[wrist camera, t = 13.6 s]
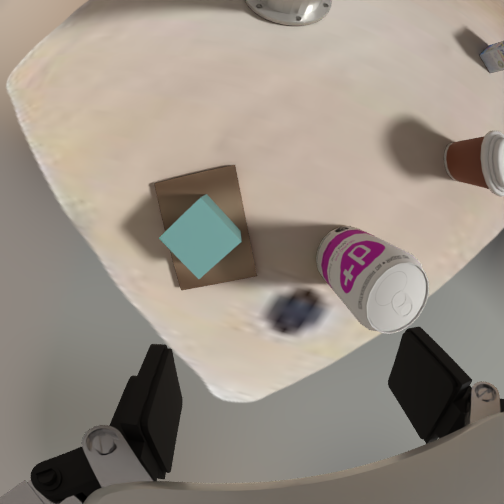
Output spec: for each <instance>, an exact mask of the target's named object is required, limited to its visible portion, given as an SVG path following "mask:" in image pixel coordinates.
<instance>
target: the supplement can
mask: <svg viewBox="0 0 504 504" xmlns="http://www.w3.org/2000/svg"><path fill="white" fill-rule="evenodd" d="M316 262H317V268H318V271H319V272H320V274H321V276H322V277H323V279H324V280H325V281H326V282H327V283H328V285H329V286H330V287H331V288H332V289H333V291H334V292H335V293H336V294H337V295H338V297H339V298H340V299H341V300H342V301H343V303H344V304H345V305H346V306H347V308H348V309H349V310H350V311H351V312H352V314H353V315H354V316H355V317H356V319H357V320H358V321H359V322H360V324H362V325H363V326H365V327H366V328H368V329H369V330H373V331H379V332H381V333H388V334H391V333H395V332H399V331H401V330H403V329H405V328H406V327H408V326H409V325H411V324H412V323H413V322H414V321H415V320H416V319H417V318H418V317H419V315H420V313H421V312H422V310H423V309H424V307H425V305H426V301H427V298H428V295H429V281H428V278H427V275H426V273H425V272H424V270H423V268H422V265H421V263H420V262H419V261H418V259H417V258H416V257H415V256H414V255H413V254H411V253H409V252H407V251H404V250H402V249H400V248H398V247H396V246H394V245H392V244H390V243H388V242H386V241H384V240H382V239H380V238H377V237H375V236H373V235H371V234H369V233H367V232H365V231H362V230H360V229H357V228H355V227H351V226H345V227H339V228H337V229H334V230H332V231H330V232H329V233H328V234H327V235H326V236H325V237H324V238H323V239H322V241H321V243H320V245H319V247H318V250H317V256H316Z"/></svg>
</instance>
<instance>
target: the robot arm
mask: <svg viewBox="0 0 504 504" xmlns="http://www.w3.org/2000/svg"><path fill="white" fill-rule="evenodd" d="M245 1H246V3H247V5H248V6H249V7H250V8H251V9H252V10H253V11H254V12H255V13H257V14H258V15H259V16H261V17H263V18H265V19H267V20H270V21H272V22H275V23H279V24H283V25H291V26H302V25H309V24H312V23H316V22H318V21H320V20H321V19H323V18H324V17H325V16H326V15H327V13H328V12H329V10H330V8H331V3H332V0H245ZM471 382H472V379H471V378H470V377H469V376H468V375H467V374H466V373H465V372H464V371H463V370H462V369H461V368H460V367H459V366H458V364H457V363H455V361H454V360H453V359H452V358H451V357H450V356H449V355H448V354H447V353H446V352H445V351H444V350H443V349H442V348H441V347H440V346H439V345H438V344H437V343H436V342H435V341H434V340H433V339H432V338H431V337H430V336H429V335H428V334H427V333H426V332H425V331H424V330H423V329H422V328H420V327H414V328H409V329H407V330H406V331H405V333H404V334H403V335H402V339H401V342H400V346H399V349H398V352H397V355H396V359H395V362H394V365H393V368H392V371H391V374H390V377H389V380H388V385H389V388H390V389H391V391H392V392H393V394H394V396H395V397H396V399H397V401H398V402H399V404H400V405H401V407H402V409H403V410H404V412H405V414H406V415H407V417H408V418H409V420H410V422H411V423H412V425H413V427H414V428H415V430H416V432H417V433H418V435H419V437H420V438H421V439H424V441H425V442H426V445H423V446H421V447H418V448H415V449H413V450H410V451H408V452H405V453H402V454H399V455H396V456H393V457H390V458H387V459H384V460H380V461H377V462H374V463H370V464H367V465H363V466H359V467H355V468H351V469H347V470H343V471H338V472H333V473H328V474H323V475H317V476H311V477H305V478H297V479H290V480H281V481H270V482H254V483H191V482H169V481H157V478H158V479H165V474H166V472H167V473H169V472H171V467H172V461H173V455H174V449H175V443H176V437H177V432H178V426H179V420H180V414H181V410H182V395H181V391H180V386H179V382H178V377H177V372H176V368H175V363H174V358H173V352H172V349H167V346H166V345H161V344H151V345H150V348H149V350H148V352H147V354H146V357H145V359H144V361H143V364H142V366H141V369H140V371H139V373H138V376H131V377H130V379H129V381H128V383H127V385H126V388H125V390H124V392H123V394H122V397H121V399H120V402H119V404H118V406H117V409H116V411H115V413H114V416H113V418H112V421H111V423H110V426H108V425H99V426H95V427H93V428H91V429H89V430H88V431H87V432H86V433H85V434H84V436H83V438H82V447H80V448H77V449H75V450H72V451H70V452H67V453H65V454H62V455H59V456H57V457H54V458H52V459H49V460H46V461H43V462H41V463H39V464H37V465H36V466H35V467H34V468H33V470H32V472H31V480H30V481H29V482H26V481H25V480H24V481H23V482H21V483H20V484H19V485H17V486H16V487H14V488H13V489H11V490H10V491H9V492H7V493H6V494H4V495H3V496H1V497H0V504H504V399H500V397H499V392H498V390H497V388H496V387H495V386H494V385H492V384H490V383H488V382H482V381H481V382H477V383H475V384H474V385H473V387H472V388H471V386H470V384H471ZM438 437H439V439H438Z"/></svg>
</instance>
